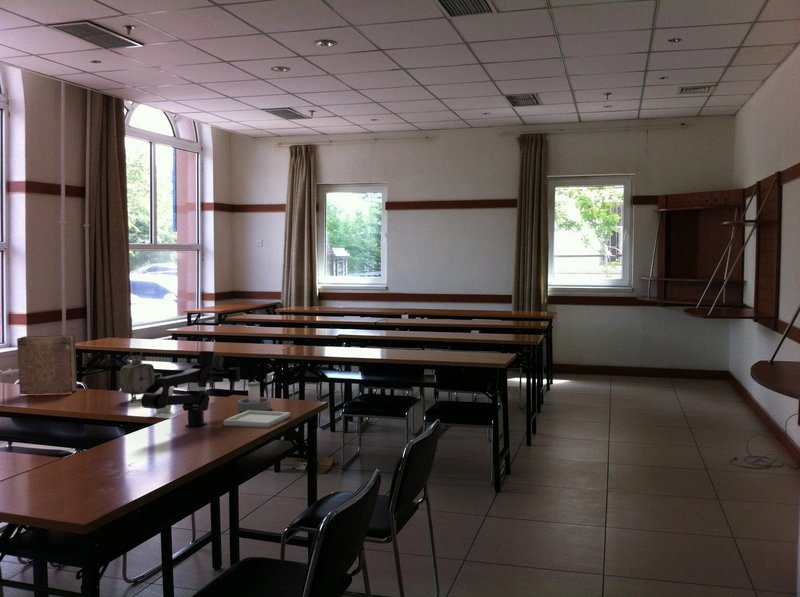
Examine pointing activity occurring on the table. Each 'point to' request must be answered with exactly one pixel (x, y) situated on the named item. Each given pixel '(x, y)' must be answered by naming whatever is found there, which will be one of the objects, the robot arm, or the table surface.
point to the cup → (168, 407)
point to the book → (47, 364)
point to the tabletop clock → (136, 377)
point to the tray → (257, 418)
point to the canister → (254, 392)
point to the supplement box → (196, 387)
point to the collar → (254, 405)
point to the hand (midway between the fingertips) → (230, 375)
